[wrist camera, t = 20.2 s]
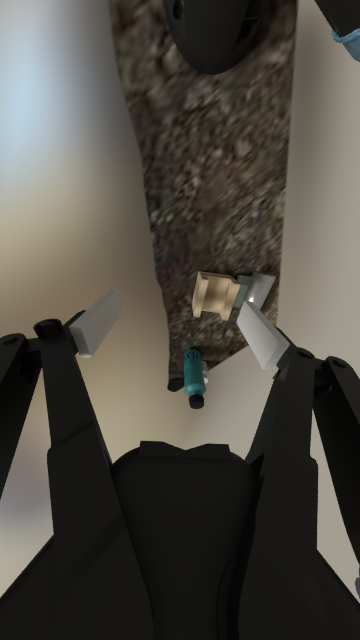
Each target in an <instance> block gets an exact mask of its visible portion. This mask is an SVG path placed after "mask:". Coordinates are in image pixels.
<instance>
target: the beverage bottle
mask: <svg viewBox="0 0 360 640" xmlns="http://www.w3.org/2000/svg"><path fill="white" fill-rule="evenodd" d="M200 355H201V354H200V353H199V351H198V350H196V349H189V350H187V351H186V352H185V353H184V356H183V357H184V359H183V361H184V377H185V378H184V380H185V392H186V394H187V395H189V396H190V397H189V403H190V407H191V408H193V409H199V408H202V407H203V406H204V398H203V396H202V395H203V394H204V393H205V391H206V387H205V381H204V375H203V369H202V366H203V365H202V361H201V360H202V359H201V356H200Z"/></svg>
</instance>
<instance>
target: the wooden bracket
mask: <svg viewBox="0 0 360 640" xmlns="http://www.w3.org/2000/svg"><path fill="white" fill-rule="evenodd" d="M239 288H240V284H239V283H238V282H237V281H236V280H235V279H234V278H233V277H232V276H229V275H222V274H215V273H208V272H201V271H198V276H197V281H196V286H195V291H194V296H193V301H192V308H193V314H194V317H200V313H201V310H202V311H210V312H218V313H219V314H220V316H221V319H222V320H227V321H228V318H229V315H230V312H231V310H232V307H233V304H234V302H235V299H236V296H237V293H238V291H239Z"/></svg>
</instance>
